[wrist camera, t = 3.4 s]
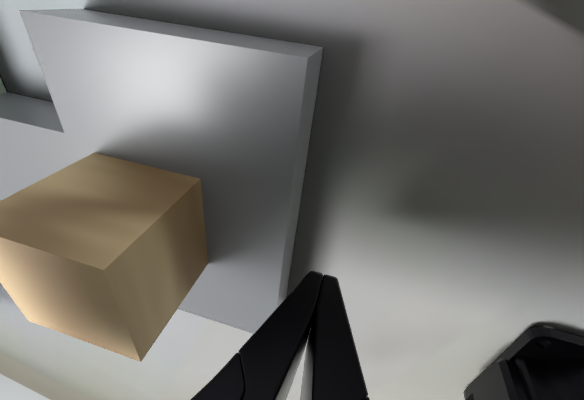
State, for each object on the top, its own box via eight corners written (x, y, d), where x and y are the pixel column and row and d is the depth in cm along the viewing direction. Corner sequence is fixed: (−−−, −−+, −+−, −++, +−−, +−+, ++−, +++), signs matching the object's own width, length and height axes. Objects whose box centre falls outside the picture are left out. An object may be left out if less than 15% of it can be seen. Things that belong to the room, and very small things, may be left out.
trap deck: (323, 46, 8) (307, 58, 7) (285, 304, 15) (272, 339, 14) (-144, -27, 11) (-234, -31, 9) (5, 219, 18) (-33, 240, 16)
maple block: (200, 178, 9) (103, 270, 6) (208, 263, 12) (140, 361, 9) (93, 152, 10) (-44, 223, 7) (121, 237, 12) (28, 320, 9)
